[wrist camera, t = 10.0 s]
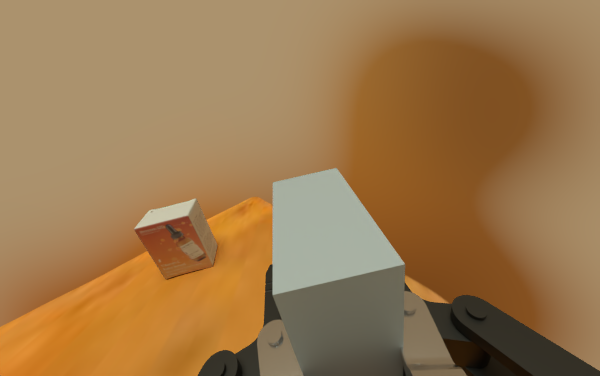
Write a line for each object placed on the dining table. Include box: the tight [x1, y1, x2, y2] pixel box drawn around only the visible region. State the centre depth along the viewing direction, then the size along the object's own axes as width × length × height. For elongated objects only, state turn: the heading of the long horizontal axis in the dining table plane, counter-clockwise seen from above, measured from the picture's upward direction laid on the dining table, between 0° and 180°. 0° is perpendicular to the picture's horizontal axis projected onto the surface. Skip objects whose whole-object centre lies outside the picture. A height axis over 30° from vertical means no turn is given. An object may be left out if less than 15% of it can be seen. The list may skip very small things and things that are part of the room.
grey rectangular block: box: [273, 168, 405, 376], centre depth 10 cm, size 3×6×12 cm, turn 6°
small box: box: [134, 199, 218, 279], centre depth 37 cm, size 8×6×10 cm
